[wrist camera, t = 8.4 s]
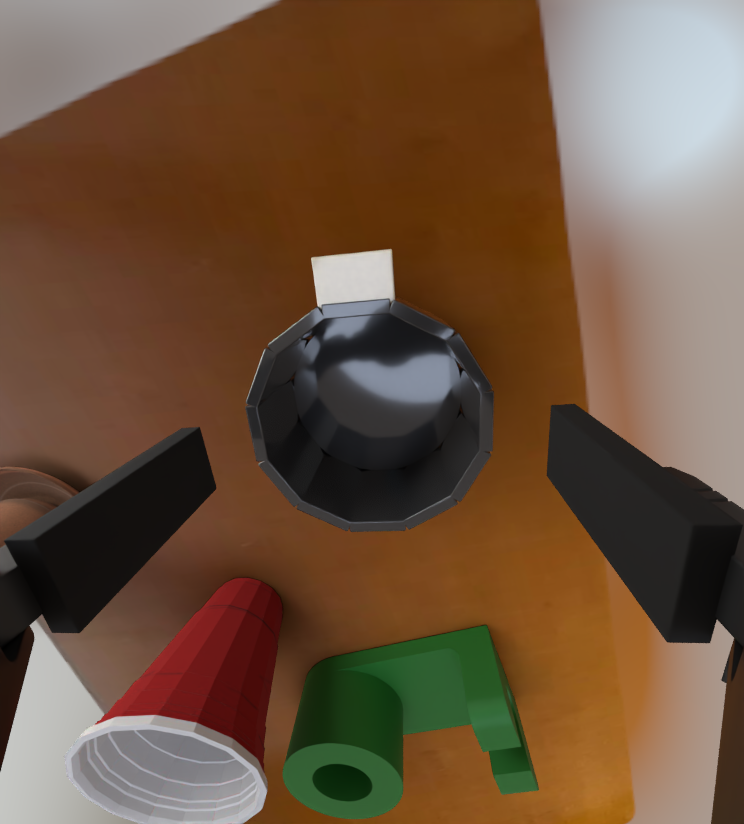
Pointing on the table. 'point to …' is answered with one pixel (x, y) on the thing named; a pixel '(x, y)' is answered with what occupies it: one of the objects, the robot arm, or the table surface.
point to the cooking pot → (369, 404)
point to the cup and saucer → (28, 498)
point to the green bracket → (400, 720)
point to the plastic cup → (191, 720)
